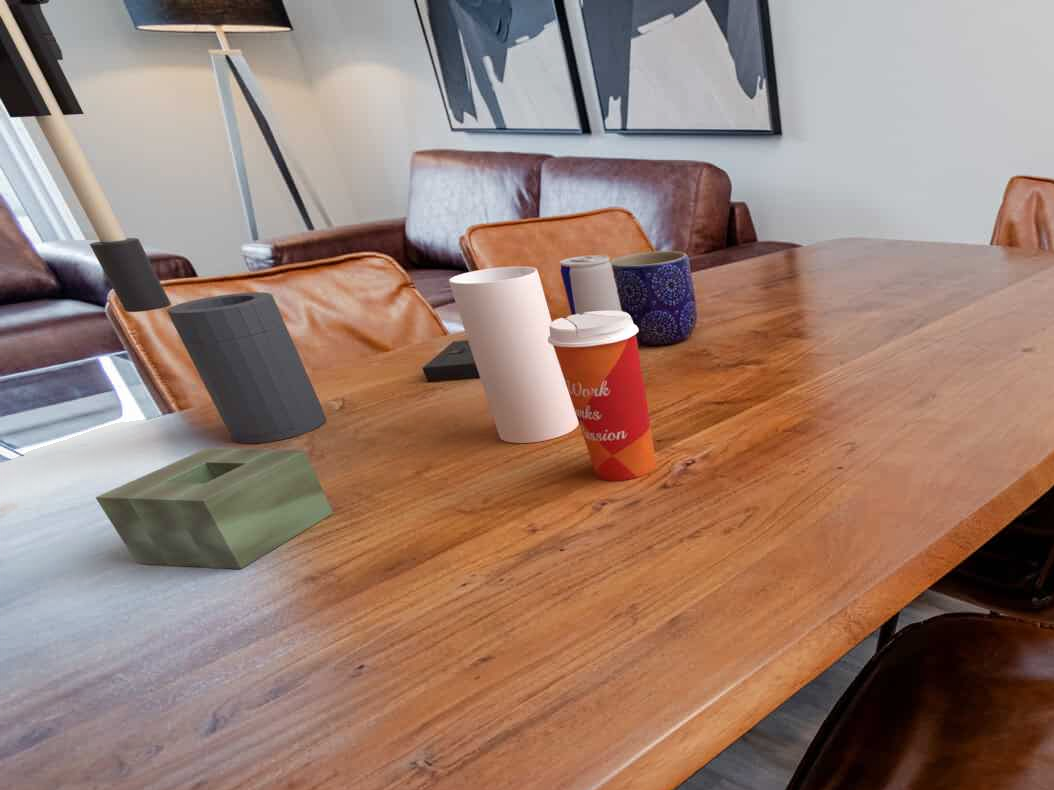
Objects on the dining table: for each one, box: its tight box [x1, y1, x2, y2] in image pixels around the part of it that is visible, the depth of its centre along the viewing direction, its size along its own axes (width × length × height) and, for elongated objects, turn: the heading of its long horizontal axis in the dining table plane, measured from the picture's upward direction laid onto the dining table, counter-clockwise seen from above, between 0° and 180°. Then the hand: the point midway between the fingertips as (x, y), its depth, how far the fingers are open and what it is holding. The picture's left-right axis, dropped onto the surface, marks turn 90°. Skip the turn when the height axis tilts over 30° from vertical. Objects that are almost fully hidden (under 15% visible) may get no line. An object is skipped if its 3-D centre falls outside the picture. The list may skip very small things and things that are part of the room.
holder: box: [95, 448, 334, 570], centre depth 69 cm, size 10×10×6 cm
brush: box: [0, 0, 172, 313], centre depth 60 cm, size 3×3×23 cm
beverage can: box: [559, 254, 622, 315], centre depth 97 cm, size 6×6×15 cm
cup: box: [448, 266, 579, 444], centre depth 85 cm, size 8×8×16 cm
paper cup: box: [548, 311, 657, 482], centre depth 75 cm, size 8×8×14 cm
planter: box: [609, 250, 698, 347], centre depth 116 cm, size 11×11×11 cm
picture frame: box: [422, 339, 480, 383], centre depth 113 cm, size 13×2×18 cm
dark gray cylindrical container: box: [166, 291, 327, 445], centre depth 90 cm, size 9×9×14 cm
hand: (47, 115), depth 59 cm, fingers closed on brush, 2 cm apart
